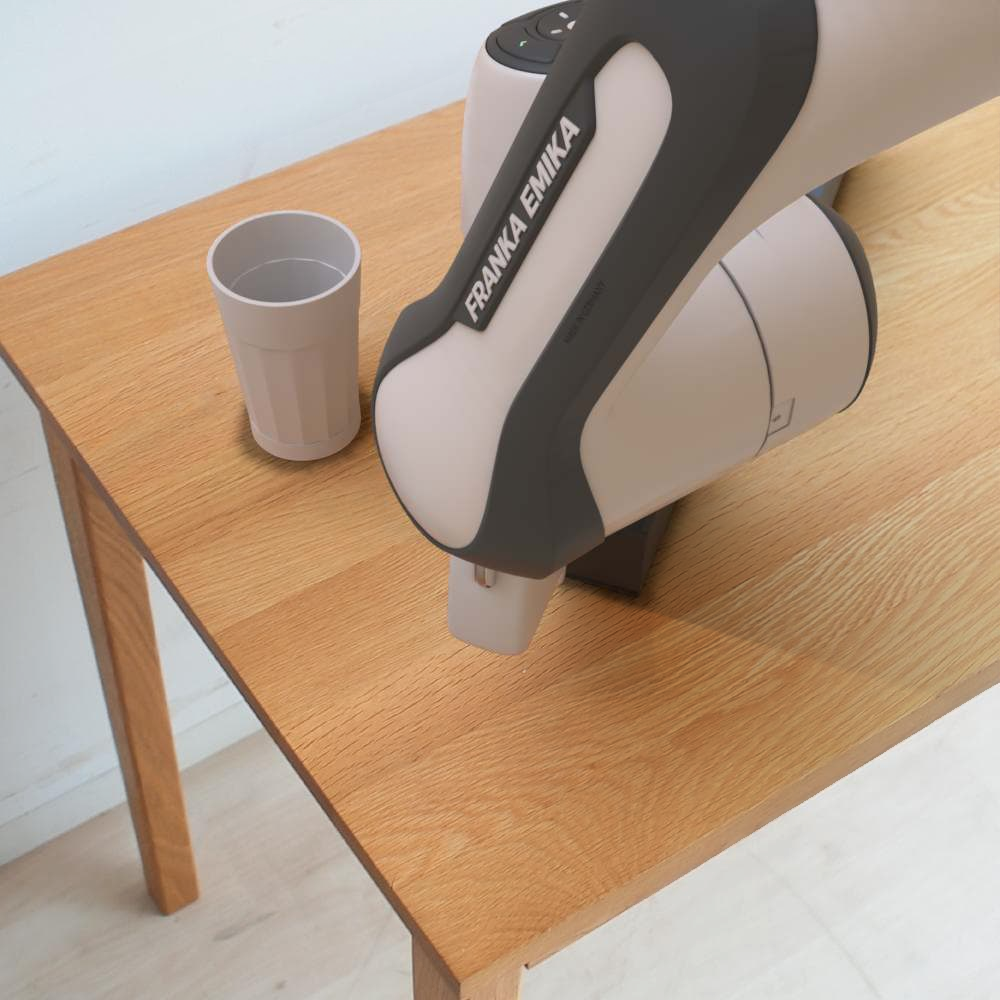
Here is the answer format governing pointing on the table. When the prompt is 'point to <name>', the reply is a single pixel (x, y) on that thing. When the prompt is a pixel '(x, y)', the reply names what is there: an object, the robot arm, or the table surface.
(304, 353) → the cup
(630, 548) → the basket
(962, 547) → the table surface
